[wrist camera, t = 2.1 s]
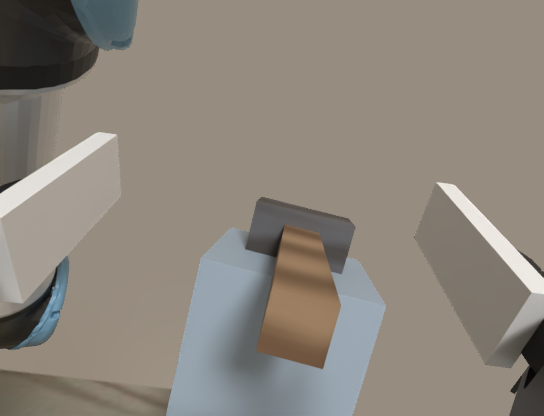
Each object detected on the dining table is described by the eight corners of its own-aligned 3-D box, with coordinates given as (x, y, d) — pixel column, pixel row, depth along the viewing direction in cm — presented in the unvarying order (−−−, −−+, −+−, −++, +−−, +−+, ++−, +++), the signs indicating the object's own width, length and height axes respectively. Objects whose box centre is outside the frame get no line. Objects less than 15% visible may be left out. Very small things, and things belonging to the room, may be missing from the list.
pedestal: (296, 597, 34) (386, 305, 30) (135, 549, 35) (201, 257, 30) (296, 471, 48) (357, 260, 44) (181, 438, 48) (231, 227, 44)
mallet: (386, 386, 18) (415, 293, 17) (194, 334, 18) (215, 242, 18) (336, 260, 41) (348, 218, 40) (251, 238, 41) (261, 196, 40)
